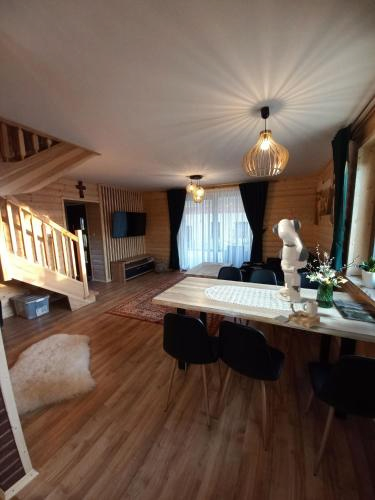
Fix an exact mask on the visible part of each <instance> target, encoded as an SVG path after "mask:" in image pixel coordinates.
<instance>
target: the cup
mask: <svg viewBox="0 0 375 500" xmlns="http://www.w3.org/2000/svg"><path fill="white" fill-rule="evenodd" d="M301 308H302V311H304V312H306V313H309V314H312V315H315V316H318V310H319V302H317V301H314V300H307V301H306V302H304V303H303V304H302V307H301Z"/></svg>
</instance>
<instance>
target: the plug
mask: <svg viewBox="0 0 375 500" xmlns="http://www.w3.org/2000/svg"><path fill="white" fill-rule="evenodd" d="M284 284H285V285H284V286H285V288H284V290H286V296H292V290H294V288H292V283H291V284H290V288H287V283H285V282H284Z"/></svg>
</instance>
